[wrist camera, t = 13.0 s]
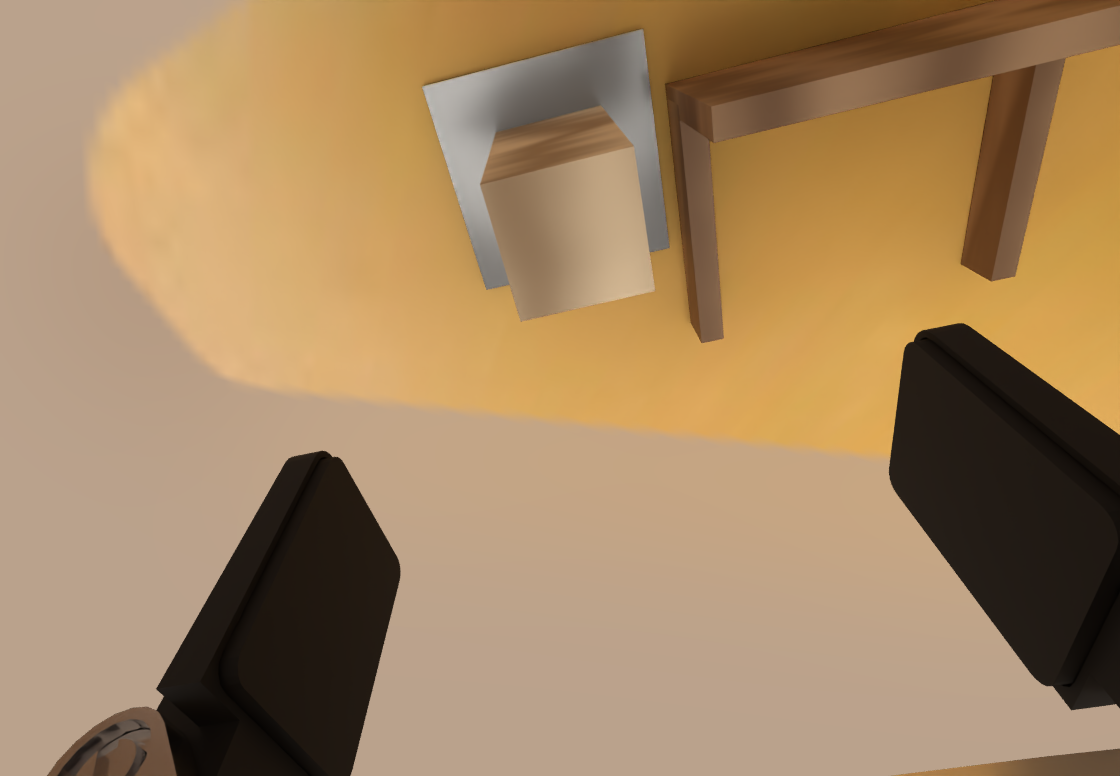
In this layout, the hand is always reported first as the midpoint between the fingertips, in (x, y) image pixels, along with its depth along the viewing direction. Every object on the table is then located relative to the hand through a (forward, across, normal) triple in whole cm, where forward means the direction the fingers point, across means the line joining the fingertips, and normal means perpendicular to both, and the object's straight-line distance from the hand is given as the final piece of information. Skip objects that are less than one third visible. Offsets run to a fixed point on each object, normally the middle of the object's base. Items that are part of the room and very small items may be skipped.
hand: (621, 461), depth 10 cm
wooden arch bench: (+22, -13, +4) cm, 26 cm away
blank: (+22, 0, 0) cm, 22 cm away
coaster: (+22, +1, 0) cm, 22 cm away
